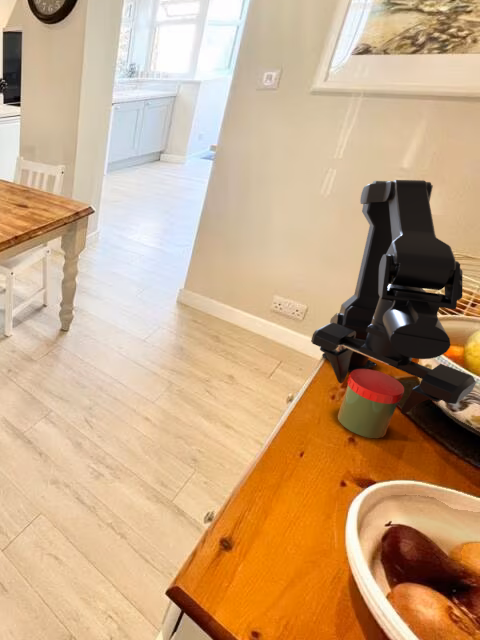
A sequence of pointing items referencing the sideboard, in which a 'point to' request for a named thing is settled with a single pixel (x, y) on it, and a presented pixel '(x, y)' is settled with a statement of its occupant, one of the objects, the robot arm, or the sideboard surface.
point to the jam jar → (365, 415)
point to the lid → (376, 386)
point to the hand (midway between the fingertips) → (371, 396)
